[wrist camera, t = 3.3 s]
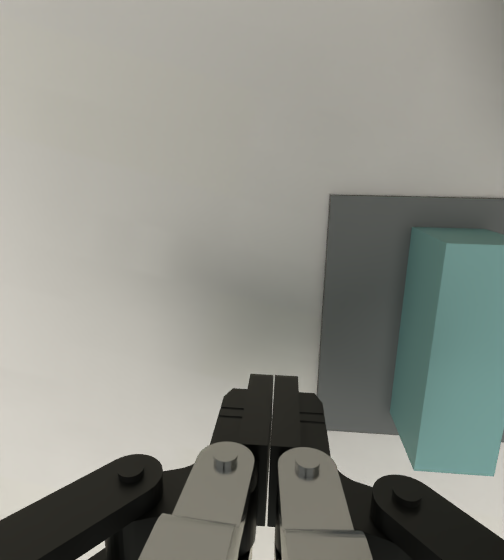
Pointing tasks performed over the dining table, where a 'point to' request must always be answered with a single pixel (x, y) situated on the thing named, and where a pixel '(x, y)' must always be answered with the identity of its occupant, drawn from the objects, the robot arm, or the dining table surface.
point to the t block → (451, 351)
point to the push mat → (375, 297)
